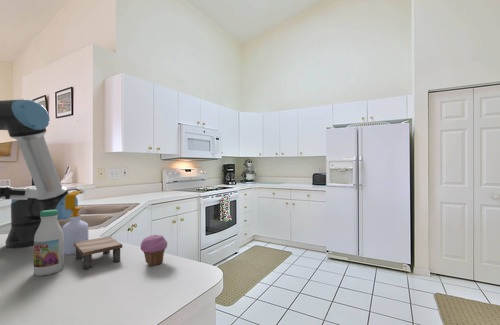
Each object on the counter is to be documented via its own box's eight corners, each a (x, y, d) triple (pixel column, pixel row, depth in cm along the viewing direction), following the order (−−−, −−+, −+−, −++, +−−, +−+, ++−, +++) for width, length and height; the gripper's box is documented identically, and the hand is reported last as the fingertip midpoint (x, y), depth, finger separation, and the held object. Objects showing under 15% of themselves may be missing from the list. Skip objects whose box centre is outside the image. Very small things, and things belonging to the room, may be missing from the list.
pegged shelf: (73, 258, 92) (74, 242, 92) (109, 250, 101) (109, 236, 101) (83, 270, 81) (83, 252, 81) (122, 260, 89) (122, 244, 89)
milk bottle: (45, 267, 84) (45, 208, 85) (69, 266, 85) (69, 208, 86) (26, 277, 77) (27, 212, 77) (53, 275, 77) (53, 212, 78)
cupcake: (170, 264, 85) (170, 235, 86) (144, 271, 80) (144, 240, 80) (162, 257, 92) (162, 230, 93) (137, 262, 87) (137, 234, 87)
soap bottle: (93, 247, 105) (93, 190, 105) (76, 255, 96) (76, 192, 96) (74, 247, 106) (74, 190, 106) (55, 254, 97) (55, 192, 97)
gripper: (-72, 205, 74) (22, 206, 90) (-73, 203, 59) (40, 205, 75) (-66, 180, 75) (25, 186, 92) (-65, 172, 60) (44, 181, 77)
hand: (32, 195), depth 83 cm, fingers open, 13 cm apart
